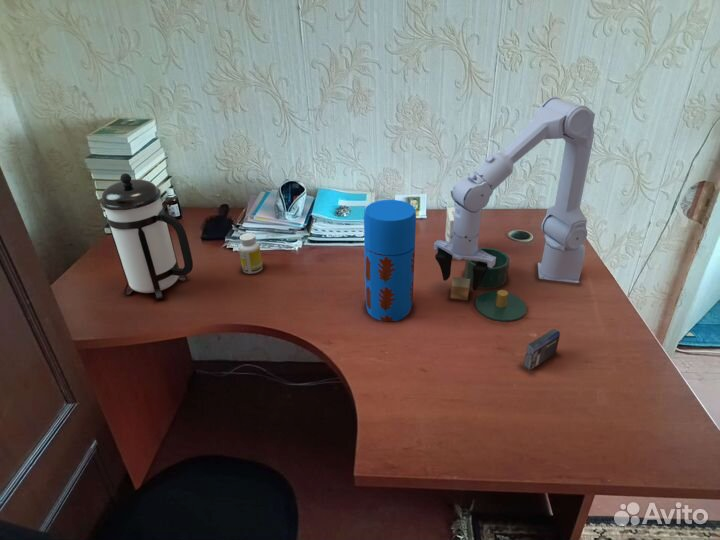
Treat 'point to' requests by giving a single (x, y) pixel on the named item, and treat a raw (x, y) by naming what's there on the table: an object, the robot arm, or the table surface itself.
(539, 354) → the mini dv tape
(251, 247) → the supplement bottle
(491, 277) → the tin
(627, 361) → the table surface
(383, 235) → the thermos
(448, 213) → the ink cartridge box
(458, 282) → the block
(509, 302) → the tin lid
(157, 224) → the coffee press
